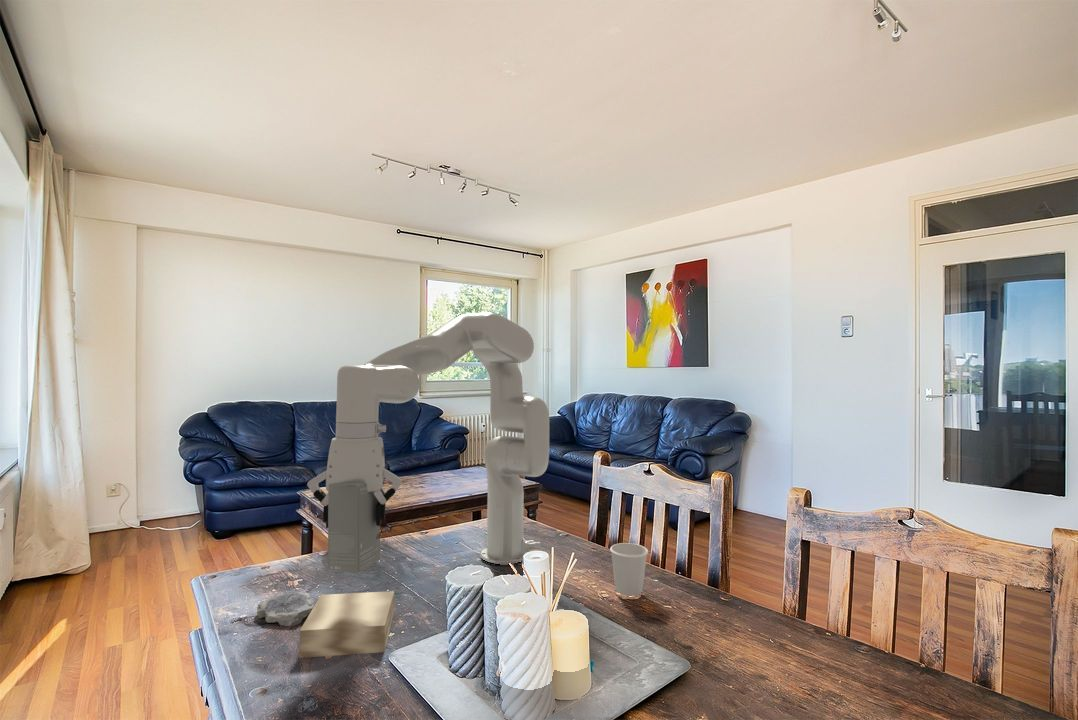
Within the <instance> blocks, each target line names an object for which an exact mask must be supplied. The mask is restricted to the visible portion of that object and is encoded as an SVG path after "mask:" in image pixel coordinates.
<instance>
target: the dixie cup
mask: <svg viewBox="0 0 1078 720" xmlns="http://www.w3.org/2000/svg"><path fill="white" fill-rule="evenodd" d="M609 548H610V549H609V550H610V552H611V561H612V571H613V578H614V579H613V580H614V581H613V582H614V588H615V590H616V591H617V592H618V593H620V594H623V595H628V596H632V595H637V594H640V593H641V592H642V593H643V588H644V587H643V586H644V582H645V581H644V580H645V573H646V565H647V559H648V558H647V557H648V554H649V550H648V548H647V547H645V546H643V545H641V544H637V543H633V542H632V543H631V542H620V543H615V544H613V545H611V547H609ZM615 590H614V591H615ZM616 591H615V592H616Z"/></svg>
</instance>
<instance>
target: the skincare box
mask: <svg viewBox="0 0 1078 720" xmlns="http://www.w3.org/2000/svg"><path fill="white" fill-rule="evenodd" d="M327 494H328V528H327V571H328V572H335V573H336V572H338V573H346V574H355V575H359V574H361V573H362V572H363V571H366V569H368V568H370V567H371V566H373V565H374V563H377V562H378V561H380V559H381V525H380V526H377V525H376V512H377V503H378V499H377V498H376V496H375V495H374V493H369V492H368V491H367V483H342V484H329V485H328V491H327Z"/></svg>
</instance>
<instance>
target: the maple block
mask: <svg viewBox="0 0 1078 720" xmlns="http://www.w3.org/2000/svg"><path fill="white" fill-rule="evenodd" d="M394 615H395V591H394V590H392V591H391V590H389V591H372V592H371V591H369V592H368V591H367V592H352V593H350V592H349V593H331V594H330V593H329V594H321V595H320V596H319V598H318V599H317V601H316V603H315V604H314V607H313V609H312V611H311V612H310V613H309V614H308V615H307V618H306V619H305V621H304V623H303V625H302V626H301V628H300V630H299V647H298V648H299V651H298V654H299V657H298V658H299V659H302V658H304V657H305V658H317V657H334V656H345V655H346V656H347V655H348V656H349V655H361V654H376V653H385V651H386V648H387V644H388V643H387V642H388V639H389V636H390V631H391V627H392V623H393V620H394Z"/></svg>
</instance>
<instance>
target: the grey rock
mask: <svg viewBox="0 0 1078 720" xmlns="http://www.w3.org/2000/svg"><path fill="white" fill-rule="evenodd" d="M314 606H315V604H314V600H313V599H312V598H311V595H310V593H309V592H303V591H302V592H301V591H300V592H297V591H294V592H287V593H286V592H285V593H281V594H274V595H272V596H271V597H269V598H267V599H265V600H261V601H260V602H259V603H258V604H257V607H256V614H257V618H258V620H261V619H263V618H264V619H265V622H266V623H268V624H270V623H278V624H279V626H284V627H289V626H290V627H294V626H297V625H300V624H301V623H302V621H303V619H304V618H305V617H308V616H309V614H310V613H311V611H312V609H313V608H314Z"/></svg>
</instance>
